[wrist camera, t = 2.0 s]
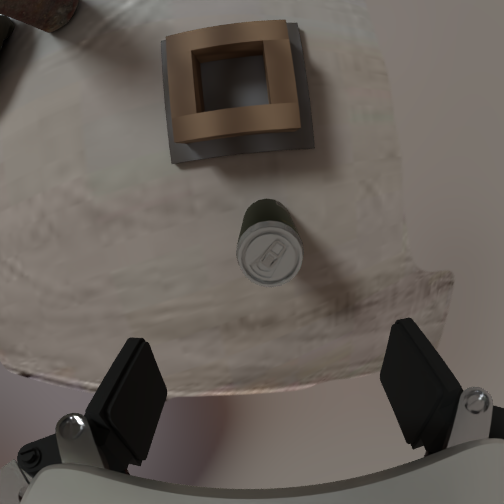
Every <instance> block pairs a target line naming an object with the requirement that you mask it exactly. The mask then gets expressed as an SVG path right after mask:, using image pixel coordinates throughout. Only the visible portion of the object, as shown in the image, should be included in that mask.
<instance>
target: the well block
mask: <svg viewBox="0 0 504 504" xmlns="http://www.w3.org/2000/svg"><path fill="white" fill-rule="evenodd" d="M161 52H162V71H163V86H164V98H165V110H166V120H167V130H168V139H169V147H170V155H171V163H172V164H175V163H180V162H186V161H192V160H199V159H206V158H213V157H220V156H228V155H236V154H245V153H255V152H265V151H277V150H292V149H310V148H315V146H314V136H313V126H312V116H311V108H310V100H309V92H308V84H307V77H306V71H305V64H304V58H303V52H302V46H301V40H300V35H299V29H298V24H297V23H286V20H267V21H253V22H242V23H234V24H226V25H219V26H213V27H207V28H202V29H197V30H192V31H187V32H183V33H178V34H174V35H170V36H167V37H166V40H163V41H161Z"/></svg>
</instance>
